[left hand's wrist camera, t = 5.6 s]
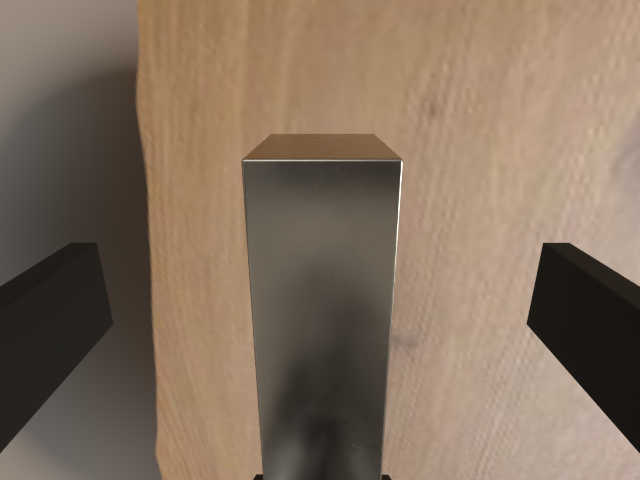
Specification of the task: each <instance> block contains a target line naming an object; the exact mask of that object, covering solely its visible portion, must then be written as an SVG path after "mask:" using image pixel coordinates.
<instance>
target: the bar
mask: <svg viewBox="0 0 640 480" xmlns="http://www.w3.org/2000/svg"><path fill="white" fill-rule="evenodd" d="M402 169H403V160H402V159H401V158H400V157H399V156H398V155H397V154H396V153H395V152H393V151H392V150H391V149H390V148H389V147H388V146H387V145H386V144H384V143H383V142H382V141H381V140H380V139H379V138H378V137H377V136H375V135H374V134H271V135H270V136H269V137H267V138H266V139H265V140H264V141H263V142H262V143H261V144H259V145H258V146H257V147H256V148H255V149H254V150H253V151H251V152H250V153H249V154H248V155H247V156H246V157H244V158H243V159H242V175H243V190H244V205H245V219H246V234H247V248H248V263H249V278H250V292H251V307H252V321H253V336H254V351H255V365H256V380H257V395H258V409H259V424H260V438H261V453H262V468H263V480H381V477H382V462H383V447H384V433H385V418H386V403H387V389H388V374H389V359H390V345H391V330H392V315H393V301H394V286H395V272H396V257H397V242H398V228H399V213H400V198H401V184H402Z"/></svg>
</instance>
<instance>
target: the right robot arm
mask: <svg viewBox="0 0 640 480" xmlns="http://www.w3.org/2000/svg"><path fill="white" fill-rule="evenodd" d="M253 480H263V475H262V474H256V476H255V478H254V479H253ZM381 480H391V478H390V477H389V475H382V477H381Z"/></svg>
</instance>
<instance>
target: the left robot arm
mask: <svg viewBox="0 0 640 480" xmlns="http://www.w3.org/2000/svg"><path fill="white" fill-rule="evenodd" d="M112 325H113V320H112V315H111V310H110V306H109V301H108V296H107V291H106V286H105V281H104V276H103V271H102V266H101V261H100V257H99V252H98V247H97V243H70V244H68V245H67V246H65V247H63V248H62V249H60V250H58V251H57V252H55V253H54V254H52V255H50V256H49V257H47V258H46V259H44V260H42V261H41V262H39V263H38V264H36V265H34V266H33V267H31V268H30V269H28V270H26V271H25V272H23V273H22V274H20V275H18V276H17V277H15V278H14V279H12V280H10V281H9V282H7V283H5V284H4V285H2V286H1V287H0V453H1V452H2V451H3V450H4V448H5V447H6V446H7V445H8V444H9V443H10V441H11V440H12V439H13V438H14V437H15V436H16V435H17V434H18V432H19V431H20V430H21V429H22V428H23V427H24V426H25V424H26V423H27V422H28V421H29V420H30V419H31V418H32V416H33V415H34V414H35V413H36V412H37V411H38V409H39V408H40V407H41V406H42V405H43V404H44V403H45V401H46V400H47V399H48V398H49V397H50V396H51V395H52V394H53V392H54V391H55V390H56V389H57V388H58V387H59V386H60V384H61V383H62V382H63V381H64V380H65V379H66V378H67V376H68V375H69V374H70V373H71V372H72V371H73V370H74V368H75V367H76V366H77V365H78V364H79V363H80V362H81V360H82V359H83V358H84V357H85V356H86V355H87V353H88V352H89V351H90V350H91V349H92V348H93V347H94V346H95V344H96V343H97V342H98V341H99V340H100V339H101V338H102V336H103V335H104V334H105V333H106V332H107V331H108V330H109V328H110V327H111V326H112ZM527 325H528V326H529V327H530V328H531V330H532V331H533V332H534V333H535V334H536V335H537V336H538V338H539V339H540V340H541V341H542V342H543V343H544V344H545V346H546V347H547V348H548V349H549V350H550V351H551V352H552V354H553V355H554V356H555V357H556V358H557V359H558V360H559V362H560V363H561V364H562V365H563V366H564V367H565V368H566V370H567V371H568V372H569V373H570V374H571V375H572V376H573V378H574V379H575V380H576V381H577V382H578V383H579V384H580V386H581V387H582V388H583V389H584V390H585V391H586V392H587V394H588V395H589V396H590V397H591V398H592V399H593V400H594V402H595V403H596V404H597V405H598V406H599V407H600V408H601V410H602V411H603V412H604V413H605V414H606V415H607V416H608V418H609V419H610V420H611V421H612V422H613V423H614V424H615V426H616V427H617V428H618V429H619V430H620V431H621V432H622V434H623V435H624V436H625V437H626V438H627V439H628V440H629V442H630V443H631V444H632V445H633V446H634V447H635V448H636V450H637V451H638V452H639V453H640V287H639V286H638V285H636V284H635V283H633V282H631V281H630V280H628V279H627V278H625V277H623V276H622V275H620V274H619V273H617V272H615V271H614V270H612V269H610V268H609V267H607V266H606V265H604V264H602V263H601V262H599V261H598V260H596V259H594V258H593V257H591V256H590V255H588V254H586V253H585V252H583V251H582V250H580V249H578V248H577V247H575V246H573V245H572V244H570V243H543V247H542V252H541V257H540V261H539V266H538V271H537V276H536V281H535V286H534V291H533V296H532V301H531V305H530V310H529V315H528V320H527Z"/></svg>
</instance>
